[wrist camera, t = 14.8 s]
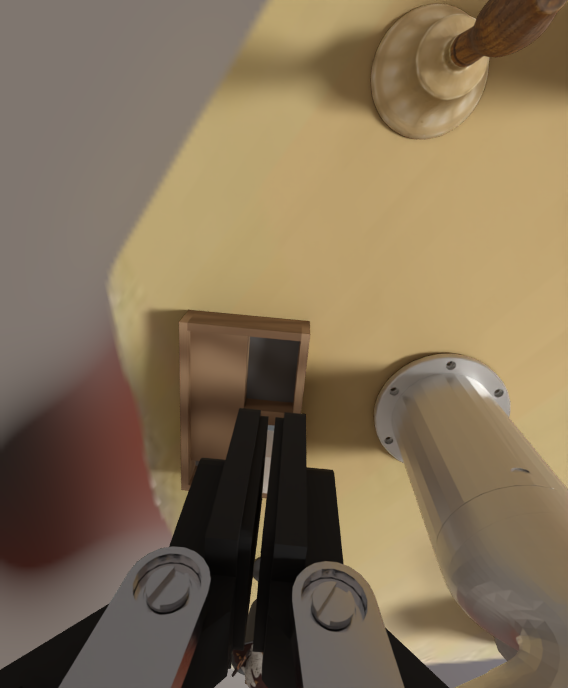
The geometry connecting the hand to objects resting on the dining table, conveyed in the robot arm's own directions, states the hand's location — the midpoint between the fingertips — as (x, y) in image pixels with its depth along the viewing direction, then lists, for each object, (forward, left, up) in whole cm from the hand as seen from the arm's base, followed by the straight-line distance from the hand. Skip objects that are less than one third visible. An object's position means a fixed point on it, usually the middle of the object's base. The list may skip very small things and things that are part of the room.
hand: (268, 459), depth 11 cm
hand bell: (-2, -16, -27) cm, 32 cm away
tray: (-3, +15, -27) cm, 31 cm away
